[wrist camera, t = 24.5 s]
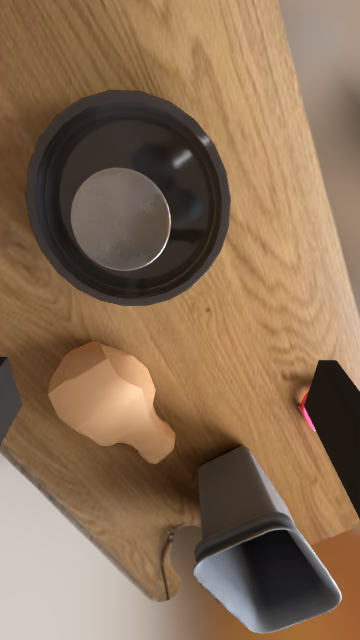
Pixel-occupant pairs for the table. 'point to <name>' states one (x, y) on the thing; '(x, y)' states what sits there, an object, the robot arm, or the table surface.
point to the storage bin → (256, 549)
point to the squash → (110, 400)
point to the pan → (146, 158)
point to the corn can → (120, 219)
